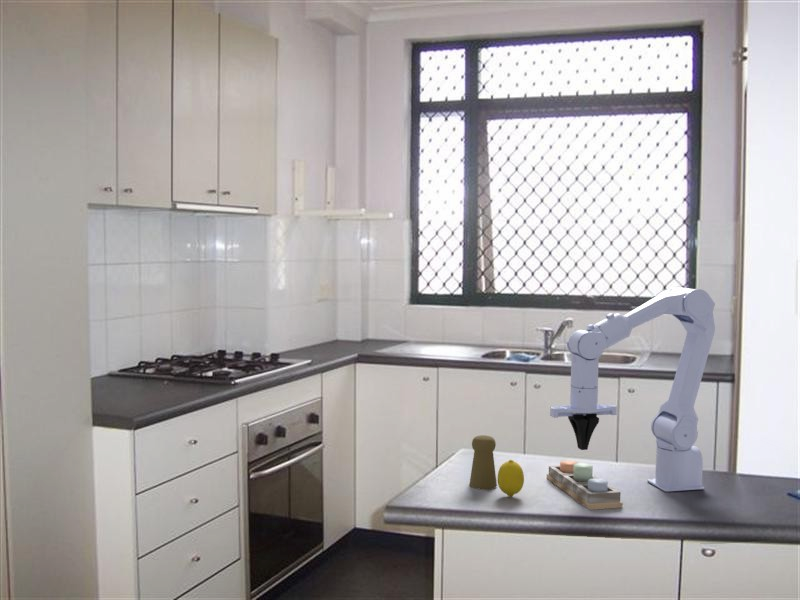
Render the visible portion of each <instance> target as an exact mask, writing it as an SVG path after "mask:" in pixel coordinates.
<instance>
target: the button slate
mask: <svg viewBox="0 0 800 600" xmlns="http://www.w3.org/2000/svg"><path fill="white" fill-rule="evenodd" d="M608 483H609V482H608V480H606V479H603V478H599V479H596V478H595V479H589V480H588V490H589V491H591V492H606V491H608V485H609V484H608Z"/></svg>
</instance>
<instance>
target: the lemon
mask: <svg viewBox="0 0 800 600" xmlns="http://www.w3.org/2000/svg"><path fill="white" fill-rule="evenodd" d="M524 483H525V475H524V471H523V469H522V466H521V464H519V463H518V462H516V461H514V460H513V459H509V460H508V461H505V462H503V463H502V464H501V465H500V466H499V468H498V472H497V484H498V485H497V486H498V487H499V489H500V491H501V492H502V493H504V494H506V495H507V496H508V498H512V497H513V496H514V495H516V494H518V493H520V491H522V489H523V486H524Z"/></svg>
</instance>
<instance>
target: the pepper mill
mask: <svg viewBox="0 0 800 600" xmlns="http://www.w3.org/2000/svg"><path fill="white" fill-rule="evenodd" d="M496 445H497V443H496V440H495V438H494V437H492V436H490V435H477V436H474V437H473V438H472V441H471V446H472V447H471V448H472V450H473V458H472V459H473V460H472V464H471V465H472V466H471V470H470V472H471V473H470V477H469V484H468V485H469V486H470V487H471V488H473V489H477V490H493V489H495V488H497V487H496V486H498V485H497V484H498V482H497V474H496V469H495V466H496V465H495V460H494V459H495V458H494V451H495V450H496V449H495V448H496Z"/></svg>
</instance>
